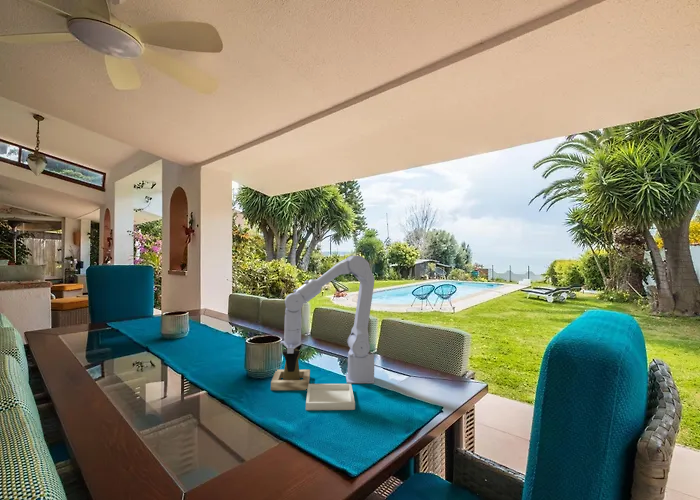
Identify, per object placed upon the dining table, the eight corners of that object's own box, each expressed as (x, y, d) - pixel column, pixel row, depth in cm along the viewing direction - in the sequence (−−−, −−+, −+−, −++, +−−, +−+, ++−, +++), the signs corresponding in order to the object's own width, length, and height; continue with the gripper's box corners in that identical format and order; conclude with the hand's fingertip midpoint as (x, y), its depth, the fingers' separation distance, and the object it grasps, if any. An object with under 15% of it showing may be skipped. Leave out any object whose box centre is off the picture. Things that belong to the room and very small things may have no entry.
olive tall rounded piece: (296, 385, 111) (297, 352, 111) (279, 383, 112) (280, 350, 113) (302, 378, 117) (303, 347, 117) (286, 377, 118) (287, 345, 119)
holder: (309, 376, 121) (310, 369, 121) (308, 390, 109) (308, 382, 109) (276, 376, 120) (276, 369, 120) (270, 390, 108) (270, 382, 108)
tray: (351, 389, 110) (351, 383, 110) (354, 409, 96) (355, 402, 96) (308, 390, 109) (308, 383, 109) (305, 410, 95) (305, 403, 95)
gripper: (283, 324, 122) (282, 361, 122) (278, 333, 108) (277, 376, 107) (303, 324, 123) (302, 361, 122) (300, 333, 108) (299, 376, 108)
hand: (291, 368), depth 115 cm, fingers closed on olive tall rounded piece, 5 cm apart
